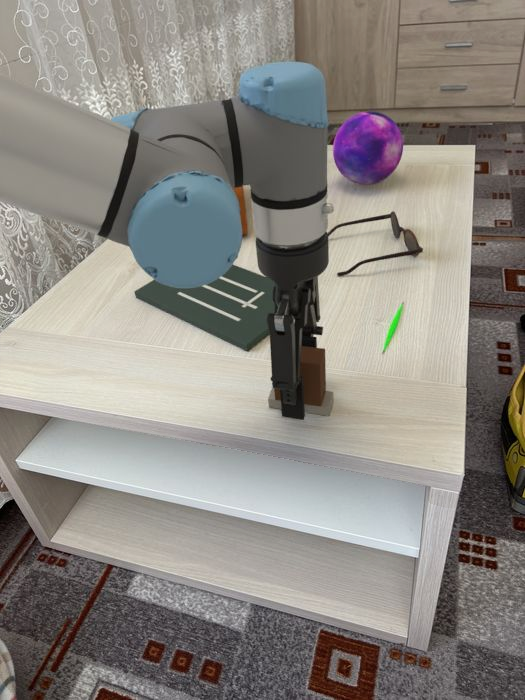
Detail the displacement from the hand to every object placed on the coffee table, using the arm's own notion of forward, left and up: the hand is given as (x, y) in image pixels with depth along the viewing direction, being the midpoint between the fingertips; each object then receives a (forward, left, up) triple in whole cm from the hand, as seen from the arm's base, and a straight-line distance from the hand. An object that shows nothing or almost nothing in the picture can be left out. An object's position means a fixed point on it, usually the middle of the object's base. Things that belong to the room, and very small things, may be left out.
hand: (300, 395), depth 71 cm
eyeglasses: (-14, +38, -2) cm, 41 cm away
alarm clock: (-48, +36, -2) cm, 60 cm away
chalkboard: (-26, +12, -2) cm, 29 cm away
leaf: (+1, +21, -2) cm, 21 cm away
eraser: (0, 0, -2) cm, 2 cm away
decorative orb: (-31, +65, -2) cm, 72 cm away
